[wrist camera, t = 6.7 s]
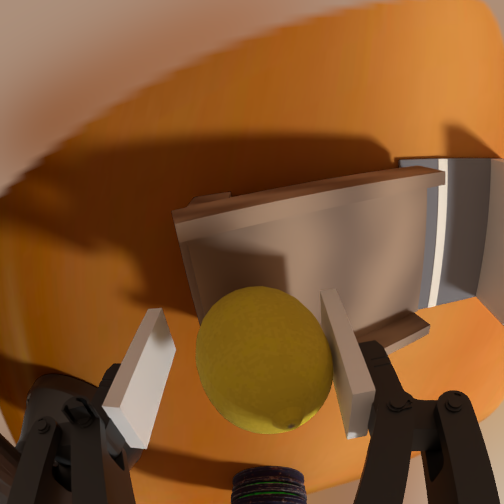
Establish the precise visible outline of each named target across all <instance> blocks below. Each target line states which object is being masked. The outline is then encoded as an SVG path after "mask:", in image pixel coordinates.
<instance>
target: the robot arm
mask: <svg viewBox="0 0 504 504" xmlns="http://www.w3.org/2000/svg"><path fill="white" fill-rule="evenodd" d="M320 302H321V328H322V330H323V332H324V334H325V336H326V338H327V340H328V343H329V346H330V350H331V354H332V361H333V373H334V374H333V382H334V386H335V390H336V394H337V399H338V403H339V407H340V411H341V415H342V420H343V424H344V428H345V433H346V437H347V439H351V438H357V437H362V436H366V435H367V431H368V429H369V433H370V436H371V439H370V443H369V447H368V451H367V456H366V460H365V464H364V468H363V472H362V475H361V479H360V483H359V486H358V490H357V493H356V497H355V500H354V503H353V504H402V503H403V498H404V493H405V488H406V482H407V477H408V470H409V464H410V457H411V451H421V456H422V461H423V468H424V475H425V482H426V489H427V498H428V504H500V500H499V496H498V491H497V487H496V483H495V479H494V475H493V471H492V467H491V464H490V460H489V456H488V453H487V450H486V446H485V443H484V439H483V436H482V433H481V430H480V427H479V424H478V421H477V418H476V415H475V412H474V410H473V407H472V404H471V401H470V400H469V398H468V396H467V395H465V394H464V393H463V392H459V391H447V392H445V393H443V394H442V395H441V396H440V397H439V399H438V400H417V399H414V398H413V397H412V396H411V395H410V394H408V393H407V392H405V391H404V390H403V388H402V386H401V383H400V381H399V379H398V377H397V375H396V372H395V370H394V368H393V366H392V364H391V362H390V359H389V357H388V355H387V353H386V351H385V349H384V347H383V346H382V345H381V344H379V343H378V342H377V341H376V340H373V341H367V342H362V343H358V342H357V340H356V337H355V335H354V332H353V330H352V327H351V325H350V322H349V320H348V317H347V315H346V312H345V310H344V308H343V305H342V303H341V300H340V298H339V296H338V293H337V291H336V289H330V290H323V291H320ZM175 351H176V348H175V345H174V342H173V340H172V337H171V334H170V331H169V328H168V325H167V322H166V319H165V316H164V313H163V310H162V308H155V309H148V311H147V313H146V314H145V316H144V318H143V320H142V322H141V324H140V326H139V328H138V330H137V332H136V334H135V336H134V338H133V341H132V343H131V345H130V347H129V349H128V351H127V353H126V355H125V357H124V359H123V361H122V363H121V364H113V365H112V366H111V367H110V368H109V369H108V370H107V371H106V372H105V374H104V376H103V378H102V381H101V382H100V384H99V387H98V388H96V387H94V386H92V385H90V384H88V383H85V382H83V381H80V380H78V379H75V378H72V377H68V376H64V375H58V374H48V375H44V376H41V377H39V378H38V379H37V380H36V382H35V383H34V385H33V386H32V388H31V389H30V391H29V393H28V395H27V401H26V406H27V408H26V411H25V415H24V420H23V425H22V431H21V436H20V439H19V441H18V443H17V445H16V447H14V446H13V445H12V444H10V443H9V441H7V440H6V439H5V438H4V437H3V436H2V435H1V434H0V504H136V503H135V498H134V493H133V488H132V483H131V478H130V472H129V471H130V470H131V468H132V467H133V465H134V464H135V463H136V462H137V461H138V460H139V458H140V457H141V454H142V451H143V449H147V447H148V443H149V440H150V436H151V432H152V429H153V425H154V422H155V418H156V415H157V411H158V408H159V404H160V401H161V398H162V394H163V391H164V387H165V384H166V381H167V377H168V374H169V371H170V367H171V364H172V361H173V358H174V354H175Z"/></svg>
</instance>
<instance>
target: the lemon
mask: <svg viewBox="0 0 504 504" xmlns="http://www.w3.org/2000/svg"><path fill="white" fill-rule="evenodd" d="M196 365H197V370H198V373H199V376H200V379H201V383H202V385H203V388H204V390H205V392H206V394H207V396H208V398H209V400H210V401H211V402H212V404H213V405H214V406H215V408H216V409H217V410H218V411H219V413H220V414H221V415H222V416H223V417H224V418H225V419H227V420H228V421H229V422H231V423H233V424H234V425H236V426H237V427H239V428H242V429H244V430H247V431H251V432H254V433H261V434H276V433H283V432H287V431H291V430H294V429H296V428H297V427H299V426H301V425H303V424H304V423H306V422H307V421H308V420H309V419H311V418H312V417H313V416H314V415H315V414H316V413H317V412H318V411H319V409H320V408H321V407H322V405H323V404H324V402H325V400H326V398H327V397H328V394H329V392H330V389H331V385H332V380H333V374H334V373H333V361H332V354H331V350H330V346H329V343H328V340H327V338H326V336H325V334H324V332H323V330H322V328H321V326H320V324H319V322H318V321H317V319H316V317H315V316H314V315H313V314H312V313H311V312H310V311H309V310H308V309H307V308H306V307H305V306H304V305H303V304H302V303H301V302H300V301H299V300H298V299H296V298H295V297H293V296H291V295H289V294H287V293H285V292H283V291H281V290H279V289H275V288H269V287H264V286H256V287H246V288H242V289H239V290H235V291H233V292H231V293H229V294H227V295H226V296H224V297H222V298H221V299H220V300H219V301H218V302H216V303H215V304H214V305H213V306H212V307H211V309H210V310H209V311H208V313H207V314H206V316H205V317H204V319H203V321H202V324H201V326H200V329H199V332H198V335H197V340H196Z"/></svg>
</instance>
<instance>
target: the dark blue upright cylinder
mask: <svg viewBox="0 0 504 504" xmlns="http://www.w3.org/2000/svg"><path fill="white" fill-rule="evenodd" d="M233 485H234V487H233V489H232V492H233V493H232V494H231V504H307V503H306V501H307V496H306V491H305V486H304V476H303V474H302V473H301V472H299V471H297V470H295V469H292V468H287V467H279V466H264V467H255V468H250V469H247V470H244V471H241V472H239V473H237V474H236V475H235V476H234V478H233Z"/></svg>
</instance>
